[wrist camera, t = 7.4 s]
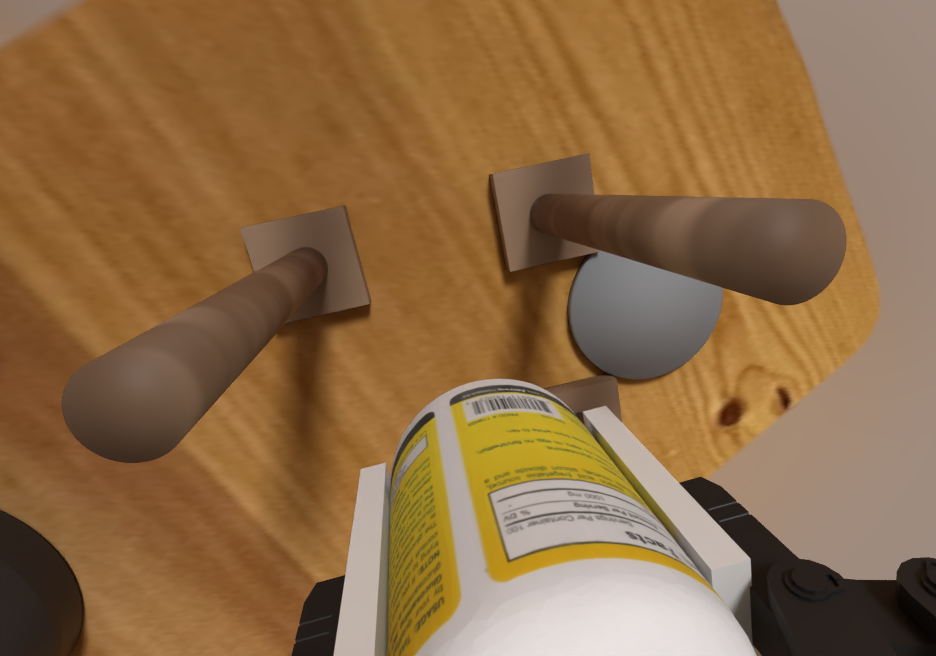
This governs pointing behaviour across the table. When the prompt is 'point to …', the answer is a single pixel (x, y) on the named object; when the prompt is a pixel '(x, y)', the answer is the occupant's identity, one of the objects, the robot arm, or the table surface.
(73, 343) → the table surface
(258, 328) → the post
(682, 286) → the coaster
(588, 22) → the table surface
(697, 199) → the post corner
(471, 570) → the pill bottle
